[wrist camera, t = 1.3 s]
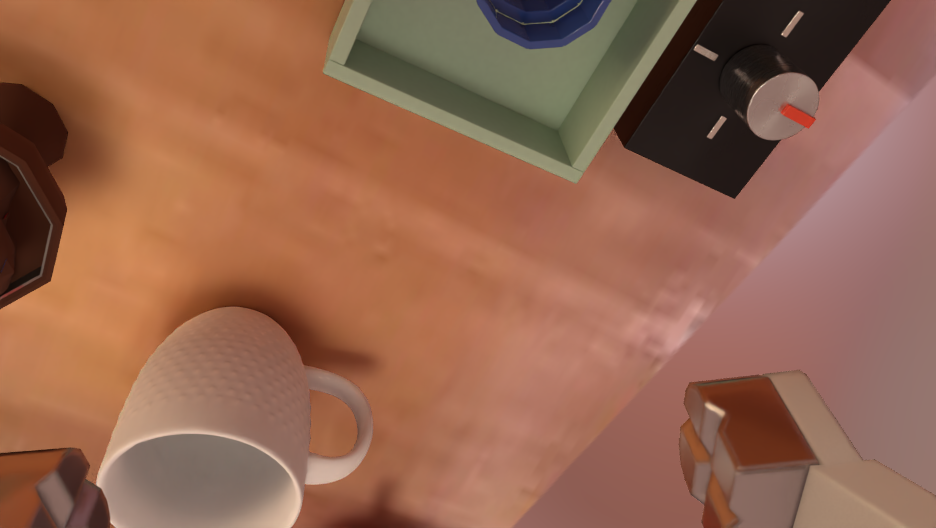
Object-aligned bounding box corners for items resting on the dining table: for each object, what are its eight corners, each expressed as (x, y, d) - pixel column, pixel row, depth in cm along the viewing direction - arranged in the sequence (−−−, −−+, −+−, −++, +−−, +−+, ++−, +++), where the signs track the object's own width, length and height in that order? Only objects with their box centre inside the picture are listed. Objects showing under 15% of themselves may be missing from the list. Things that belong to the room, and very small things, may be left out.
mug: (389, 302, 52) (389, 452, 42) (360, 416, 58) (353, 573, 48) (157, 265, 49) (92, 417, 38) (150, 390, 55) (93, 552, 44)
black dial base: (750, -88, 40) (775, -75, 37) (863, -17, 42) (893, 0, 40) (611, 125, 46) (624, 149, 43) (717, 174, 49) (735, 200, 46)
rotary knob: (705, 92, 42) (734, 126, 38) (747, 32, 40) (781, 62, 37) (756, 118, 43) (789, 153, 40) (799, 61, 41) (837, 93, 38)
